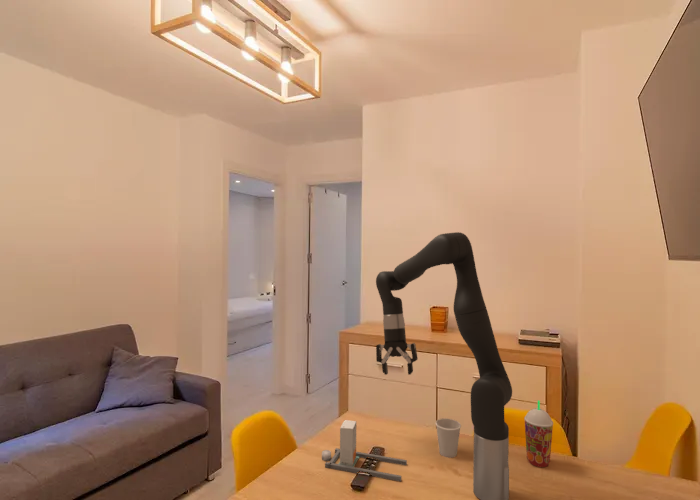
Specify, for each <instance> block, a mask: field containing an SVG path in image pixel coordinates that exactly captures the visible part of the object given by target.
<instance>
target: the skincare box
mask: <svg viewBox="0 0 700 500" xmlns="http://www.w3.org/2000/svg"><path fill="white" fill-rule="evenodd" d="M339 449H340V456H339V462H340V465H346V466H351V467H352V466H353V463H354V461H355V458H356V452H357V421H356V420H349V419H345V420H343V422H342V424H341V425H340V428H339Z"/></svg>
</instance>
